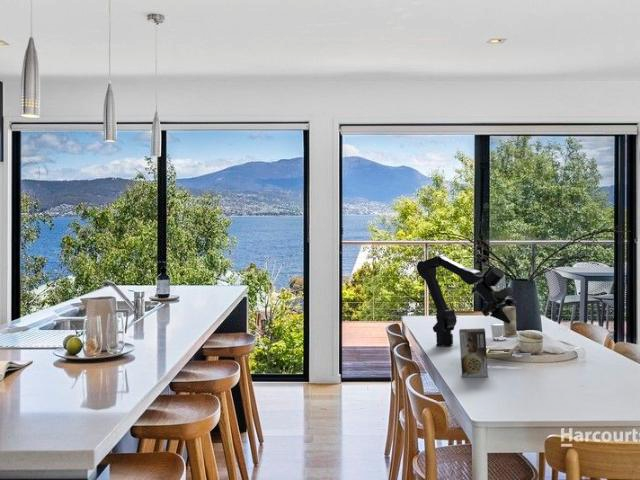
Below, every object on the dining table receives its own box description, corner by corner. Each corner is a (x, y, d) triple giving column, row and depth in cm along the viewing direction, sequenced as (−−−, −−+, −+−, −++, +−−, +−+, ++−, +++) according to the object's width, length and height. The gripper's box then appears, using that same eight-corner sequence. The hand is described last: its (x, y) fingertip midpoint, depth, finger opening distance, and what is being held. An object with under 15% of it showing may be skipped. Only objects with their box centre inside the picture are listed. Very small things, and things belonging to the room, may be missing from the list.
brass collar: (484, 357, 263) (484, 353, 263) (487, 352, 272) (487, 348, 272) (510, 357, 259) (510, 353, 259) (513, 352, 269) (512, 348, 269)
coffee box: (487, 373, 239) (485, 328, 239) (488, 377, 233) (485, 330, 232) (461, 373, 241) (459, 328, 241) (461, 377, 235) (459, 331, 234)
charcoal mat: (466, 359, 264) (466, 357, 264) (474, 348, 287) (474, 346, 287) (529, 360, 256) (529, 358, 256) (533, 348, 278) (533, 346, 278)
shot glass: (507, 340, 301) (506, 325, 300) (491, 340, 302) (491, 325, 302) (506, 337, 307) (505, 322, 307) (491, 338, 309) (490, 323, 309)
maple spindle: (502, 337, 272) (500, 308, 272) (503, 335, 277) (502, 306, 277) (517, 337, 270) (516, 308, 269) (518, 335, 275) (517, 306, 275)
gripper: (487, 282, 269) (513, 311, 262) (511, 278, 282) (536, 306, 275) (471, 301, 275) (496, 330, 267) (495, 296, 288) (520, 323, 280)
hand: (513, 322), depth 272 cm, fingers closed on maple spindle, 5 cm apart
